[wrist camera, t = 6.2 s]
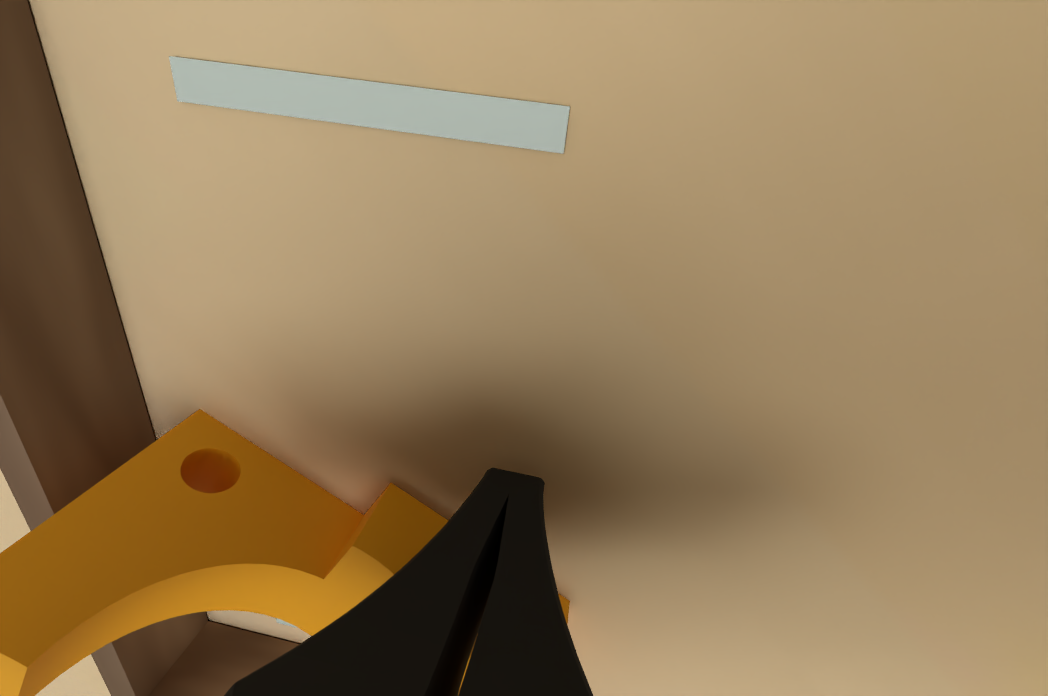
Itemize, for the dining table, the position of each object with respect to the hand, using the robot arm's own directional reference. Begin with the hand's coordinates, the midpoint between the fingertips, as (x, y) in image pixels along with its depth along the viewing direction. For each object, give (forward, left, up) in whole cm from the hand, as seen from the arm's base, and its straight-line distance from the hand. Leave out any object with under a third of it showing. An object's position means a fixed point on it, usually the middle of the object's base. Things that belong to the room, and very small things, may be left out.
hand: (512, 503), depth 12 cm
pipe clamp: (+4, +3, -1) cm, 6 cm away
